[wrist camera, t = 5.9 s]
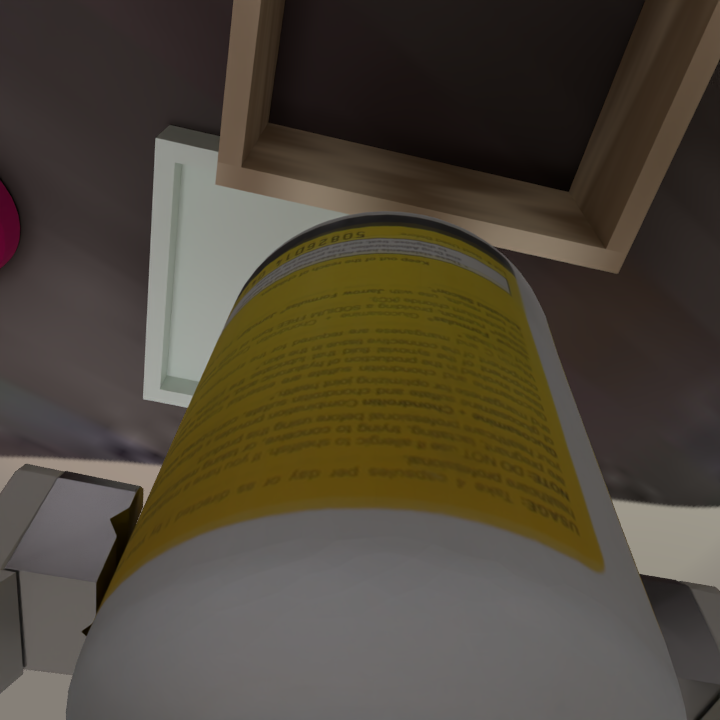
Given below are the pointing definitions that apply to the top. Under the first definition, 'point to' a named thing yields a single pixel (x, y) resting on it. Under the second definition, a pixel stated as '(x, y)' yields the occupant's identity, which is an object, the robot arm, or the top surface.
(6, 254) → the pepper mill
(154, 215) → the sage tray
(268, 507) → the pill bottle
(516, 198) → the beech box
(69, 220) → the top surface
